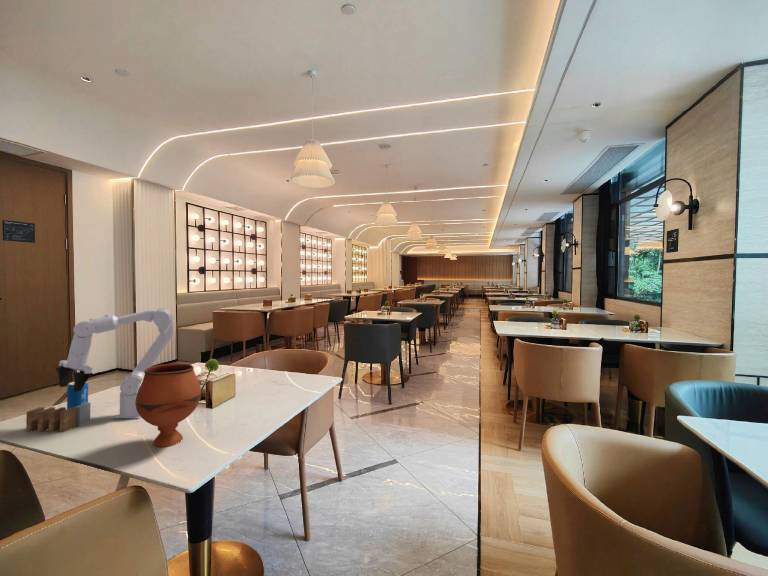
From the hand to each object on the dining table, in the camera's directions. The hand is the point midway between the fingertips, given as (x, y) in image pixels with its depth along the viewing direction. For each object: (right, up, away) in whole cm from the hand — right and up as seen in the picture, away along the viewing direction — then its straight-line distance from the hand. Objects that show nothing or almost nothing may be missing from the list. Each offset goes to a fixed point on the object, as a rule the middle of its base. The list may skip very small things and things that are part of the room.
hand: (70, 388), depth 134 cm
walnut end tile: (-8, -13, -6) cm, 16 cm away
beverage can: (-7, -13, +12) cm, 19 cm away
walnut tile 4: (-4, -13, -5) cm, 15 cm away
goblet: (+45, -14, -13) cm, 49 cm away
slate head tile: (+4, -13, 0) cm, 14 cm away
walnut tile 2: (+4, -13, -5) cm, 15 cm away
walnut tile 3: (0, -13, -5) cm, 14 cm away
